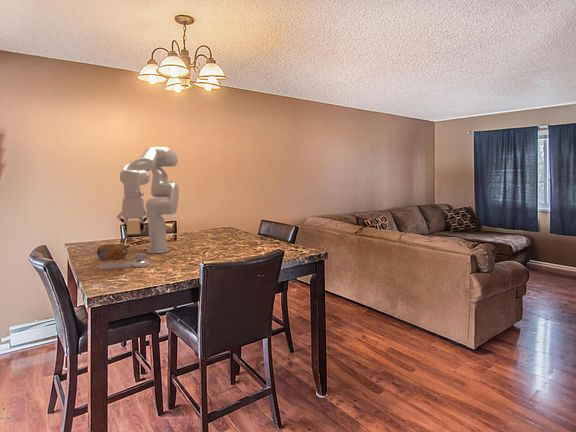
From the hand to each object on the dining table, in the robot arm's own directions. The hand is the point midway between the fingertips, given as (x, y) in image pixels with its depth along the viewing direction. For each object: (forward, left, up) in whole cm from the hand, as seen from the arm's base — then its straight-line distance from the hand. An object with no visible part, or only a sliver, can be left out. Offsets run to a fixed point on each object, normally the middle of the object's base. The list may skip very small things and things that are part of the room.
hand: (134, 230), depth 181 cm
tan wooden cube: (0, 0, -1) cm, 1 cm away
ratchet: (+1, -5, -18) cm, 19 cm away
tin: (-19, -13, -18) cm, 29 cm away
